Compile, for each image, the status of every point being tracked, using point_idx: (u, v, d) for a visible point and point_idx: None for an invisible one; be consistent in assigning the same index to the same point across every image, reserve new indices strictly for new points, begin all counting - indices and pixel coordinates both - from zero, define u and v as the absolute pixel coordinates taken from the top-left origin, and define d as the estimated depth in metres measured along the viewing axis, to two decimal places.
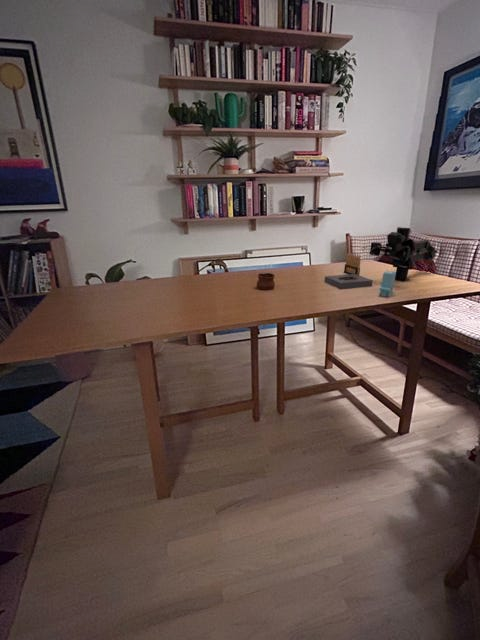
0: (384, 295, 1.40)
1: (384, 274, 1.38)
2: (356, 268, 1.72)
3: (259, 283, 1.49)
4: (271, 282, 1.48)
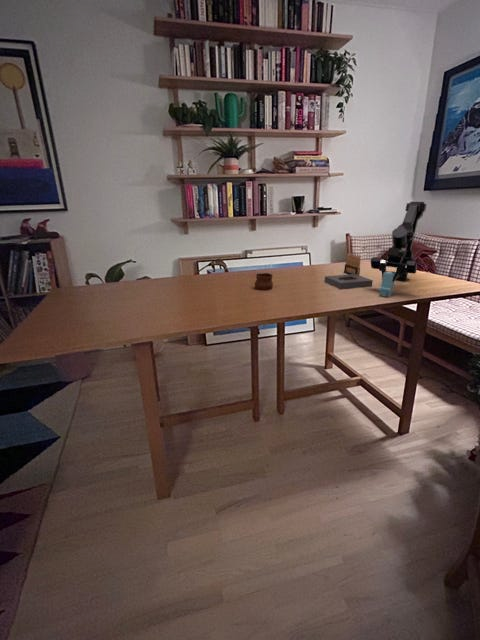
0: (384, 295, 1.40)
1: (384, 274, 1.38)
2: (356, 268, 1.72)
3: (257, 283, 1.48)
4: (269, 282, 1.48)
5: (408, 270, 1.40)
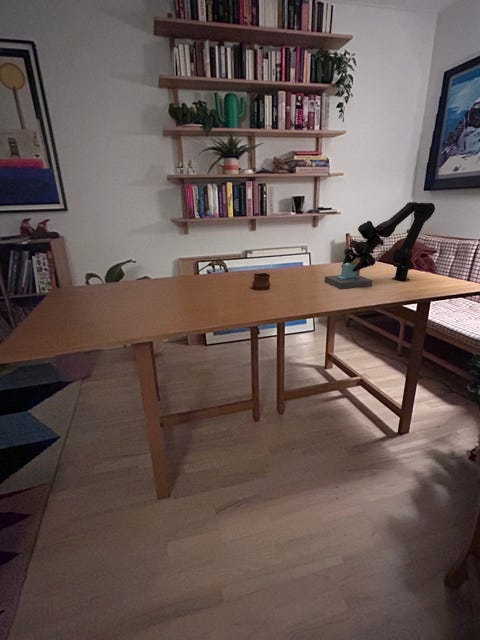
0: None
1: (342, 265, 1.56)
2: None
3: (255, 283, 1.49)
4: (267, 282, 1.48)
5: None
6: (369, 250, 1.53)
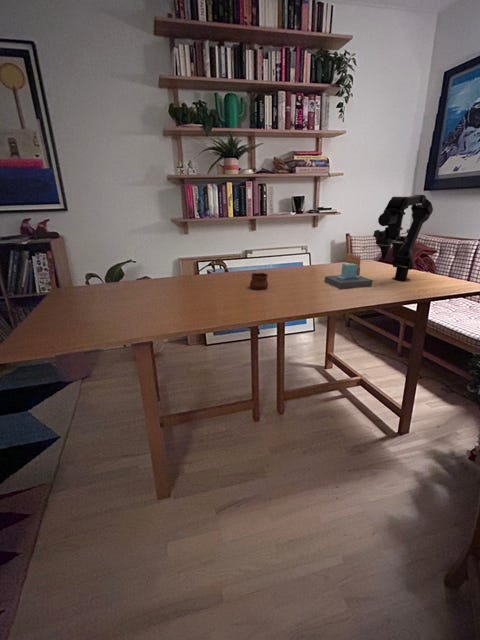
0: None
1: (342, 265, 1.56)
2: None
3: (252, 283, 1.49)
4: (264, 282, 1.48)
5: None
6: (390, 231, 1.48)
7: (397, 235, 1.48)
